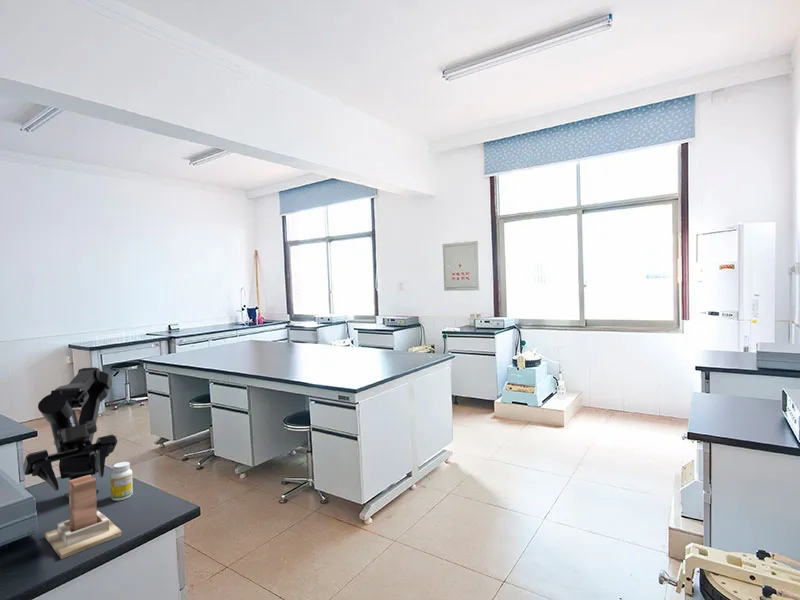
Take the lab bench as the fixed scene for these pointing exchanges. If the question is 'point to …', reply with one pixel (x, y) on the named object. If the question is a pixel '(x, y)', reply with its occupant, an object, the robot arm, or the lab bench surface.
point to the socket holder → (81, 536)
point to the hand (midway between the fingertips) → (80, 483)
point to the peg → (82, 502)
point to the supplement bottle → (121, 481)
